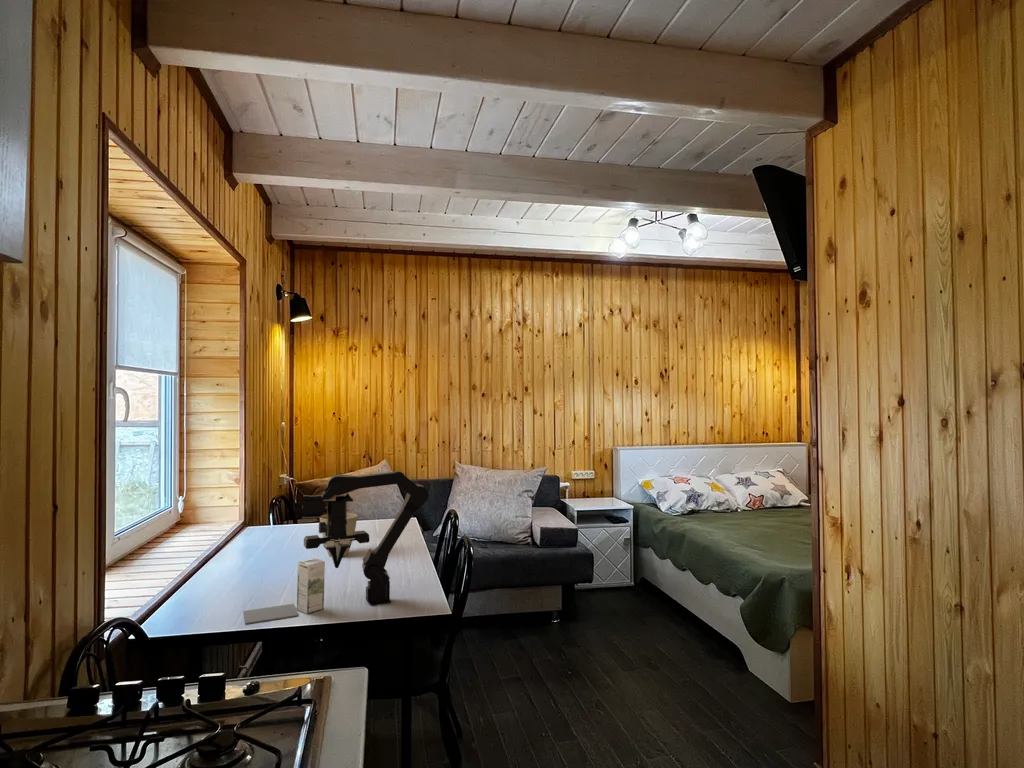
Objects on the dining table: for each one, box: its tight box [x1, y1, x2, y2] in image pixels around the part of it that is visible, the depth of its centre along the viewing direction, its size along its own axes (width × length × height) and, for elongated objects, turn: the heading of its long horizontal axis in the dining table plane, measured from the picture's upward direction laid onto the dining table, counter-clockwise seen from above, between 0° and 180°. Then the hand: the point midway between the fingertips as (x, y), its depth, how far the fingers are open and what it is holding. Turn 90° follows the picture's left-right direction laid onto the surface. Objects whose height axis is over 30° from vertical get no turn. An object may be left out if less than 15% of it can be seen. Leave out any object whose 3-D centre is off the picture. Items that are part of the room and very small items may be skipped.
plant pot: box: [319, 512, 358, 558], centre depth 240 cm, size 15×15×16 cm
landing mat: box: [243, 603, 299, 625], centre depth 171 cm, size 14×11×1 cm
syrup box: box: [296, 558, 326, 615], centre depth 175 cm, size 6×6×14 cm
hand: (336, 567), depth 178 cm, fingers closed
